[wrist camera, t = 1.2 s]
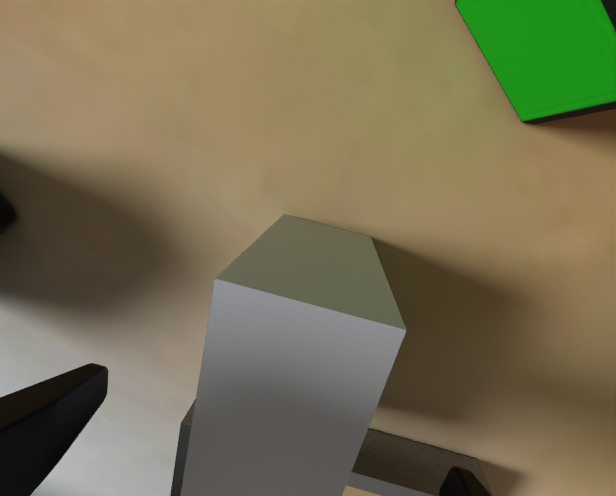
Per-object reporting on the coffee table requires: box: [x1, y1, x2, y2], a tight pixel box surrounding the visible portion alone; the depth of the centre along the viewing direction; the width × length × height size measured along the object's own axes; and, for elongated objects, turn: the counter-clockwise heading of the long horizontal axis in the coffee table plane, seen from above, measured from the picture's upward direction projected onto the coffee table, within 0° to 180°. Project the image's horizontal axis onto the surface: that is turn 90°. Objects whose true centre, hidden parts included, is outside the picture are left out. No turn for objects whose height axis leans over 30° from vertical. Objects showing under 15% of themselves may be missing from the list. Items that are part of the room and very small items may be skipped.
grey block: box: [180, 214, 406, 496], centre depth 10 cm, size 8×4×7 cm, turn 166°
